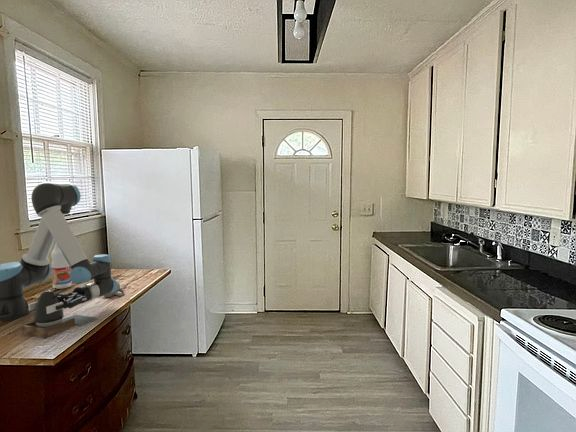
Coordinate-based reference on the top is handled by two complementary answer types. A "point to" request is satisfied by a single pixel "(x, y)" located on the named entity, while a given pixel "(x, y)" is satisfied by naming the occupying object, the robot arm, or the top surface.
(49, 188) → the robot arm
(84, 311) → the top surface
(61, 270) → the fruit juice
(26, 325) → the walnut caddy
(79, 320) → the grey mat
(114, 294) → the ceramic mug
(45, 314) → the pump dispenser
